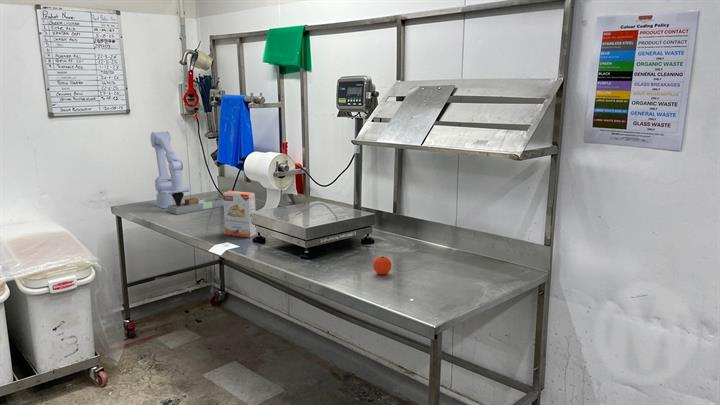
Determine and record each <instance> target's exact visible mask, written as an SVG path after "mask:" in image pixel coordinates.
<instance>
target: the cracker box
mask: <svg viewBox="0 0 720 405" xmlns="http://www.w3.org/2000/svg"><path fill="white" fill-rule="evenodd" d="M222 193H223V194H222V196H223V198H222V199H223V200H224V207H223V215H224V216H223V217H224V218H223V220H224V234H225V236H230V235H232V236H231V237H239V236H240V237H239V238H247V237H248V239H250V238H253V237H255V236H256V235H257V226H256V227H255V225H253V224H252V223H251V217H250V214H251V212H256V196H255V195H256V192H251V191H250V192H249V191H237V190H228V191H224V192H222Z"/></svg>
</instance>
